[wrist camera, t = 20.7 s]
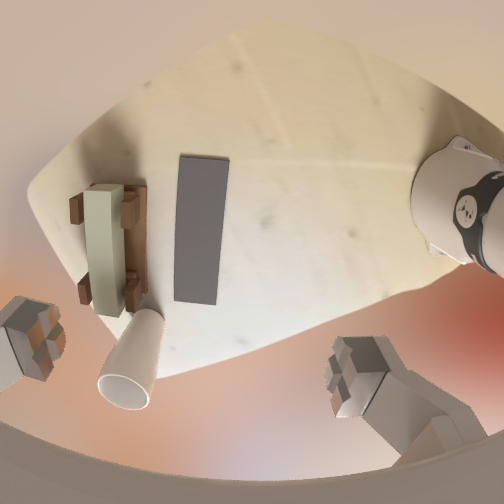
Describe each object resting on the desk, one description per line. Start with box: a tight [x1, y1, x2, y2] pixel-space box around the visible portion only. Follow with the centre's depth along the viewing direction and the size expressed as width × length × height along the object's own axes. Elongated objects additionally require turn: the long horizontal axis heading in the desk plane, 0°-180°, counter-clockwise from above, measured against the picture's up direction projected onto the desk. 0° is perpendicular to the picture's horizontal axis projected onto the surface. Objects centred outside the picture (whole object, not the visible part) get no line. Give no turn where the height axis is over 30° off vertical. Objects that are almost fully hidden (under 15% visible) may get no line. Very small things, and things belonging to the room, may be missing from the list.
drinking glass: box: [97, 309, 165, 410], centre depth 38 cm, size 7×7×15 cm
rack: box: [69, 184, 147, 313], centre depth 36 cm, size 8×15×6 cm, turn 173°
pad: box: [174, 157, 229, 305], centre depth 39 cm, size 6×20×1 cm, turn 173°
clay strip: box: [83, 183, 127, 318], centre depth 34 cm, size 16×4×4 cm, turn 173°
